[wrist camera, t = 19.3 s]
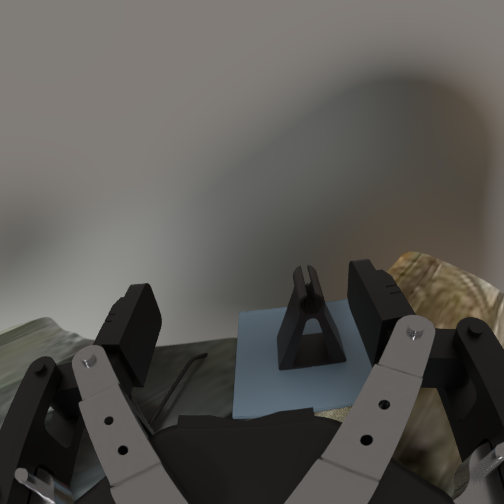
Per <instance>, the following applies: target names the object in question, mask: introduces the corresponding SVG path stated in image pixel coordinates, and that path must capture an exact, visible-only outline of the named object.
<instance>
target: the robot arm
mask: <svg viewBox="0 0 504 504" xmlns="http://www.w3.org/2000/svg"><path fill="white" fill-rule="evenodd" d="M347 297H348V304H349V308H350V311H351V313H352V316H353V318H354V321H355V323H356V326H357V329H358V331H359V334H360V336H361V339H362V342H363V344H364V347H365V350H366V352H367V355H368V358H369V361H370V363H371V366H372V370H371V372H370V374H369V376H368V378H367V380H366V382H365V384H364V386H363V388H362V390H361V391H360V393H359V395H358V397H357V399H356V401H355V402H354V404H353V406H352V408H351V409H350V411H349V413H348V415H347V416H346V418H345V420H344V421H343V423H342V422H339V421H337V420H333V419H330V418H325V417H319V416H314V410H313V407H310V408H303V409H295V410H286V411H278V412H275V413H272V414H269V415H266V416H262V417H259V418H255V419H252V420H248V421H237V420H232V419H226V418H221V417H216V416H211V415H201V416H187V415H179V417H178V424H177V425H173V426H170V427H167V428H165V429H162V430H160V431H158V432H157V433H154V431H153V430H152V428H151V427H150V425H149V423H148V422H147V420H146V418H145V417H144V415H143V413H142V411H141V410H140V408H139V406H138V404H137V402H136V401H135V399H134V397H133V395H132V394H131V391H132V388H133V387H144V383H145V380H146V376H147V373H148V369H149V366H150V362H151V359H152V355H153V352H154V349H155V345H156V342H157V339H158V336H159V332H160V329H161V325H162V318H161V314H160V310H159V308H158V305H157V302H156V299H155V297H154V294H153V291H152V288H151V286H150V285H149V284H148V283H145V284H134V285H130V287H129V289H128V291H127V292H126V294H125V296H124V297H121V298H120V299H119V300H118V301H117V302H116V303H115V304H114V305H113V306H112V308H111V310H110V312H109V315H108V316H107V318H106V319H105V323H104V324H103V325H102V327H101V329H100V331H99V333H98V335H97V337H96V339H95V341H94V344H93V345H91V346H87V347H85V348H83V349H81V350H80V351H79V352H77V354H76V355H75V356H74V358H73V360H72V362H70V363H66V364H62V365H58V366H57V364H56V363H55V361H54V360H53V359H52V358H51V357H47V356H45V357H41V358H38V359H37V360H35V361H34V362H33V363H32V364H31V365H30V366H29V368H28V370H27V372H26V374H25V376H24V378H23V380H22V382H21V384H20V386H19V388H18V390H17V393H16V395H15V397H14V399H13V401H12V404H11V406H10V408H9V411H8V413H7V415H6V418H5V420H4V422H3V425H2V427H1V430H0V504H504V349H503V348H502V346H501V344H500V343H499V341H498V340H497V338H496V336H495V335H494V333H493V332H492V330H491V329H490V327H489V326H488V325H487V324H486V323H485V322H484V321H482V320H480V319H478V318H473V317H468V318H464V319H462V320H461V321H460V322H459V323H458V325H457V327H456V329H437V328H435V327H434V325H433V324H432V323H431V322H430V321H429V320H428V319H426V318H424V317H422V316H418V315H416V314H415V312H414V311H413V309H412V308H411V306H410V304H409V303H408V301H407V299H406V298H405V296H404V295H403V293H401V290H400V288H399V287H398V286H397V284H396V282H395V281H394V279H393V278H392V276H391V275H389V274H388V273H386V272H385V271H383V270H375V268H374V266H373V265H372V263H371V262H370V260H369V259H363V260H356V261H350V263H349V274H348V292H347ZM420 387H421V388H437V390H438V393H439V395H440V398H441V400H442V403H443V406H444V409H445V411H446V414H447V417H448V420H449V423H450V426H451V428H452V431H453V434H454V437H455V441H456V444H457V447H458V450H459V453H460V457H461V460H462V463H461V464H460V466H459V467H458V468H457V470H456V473H455V476H454V484H455V489H454V494H453V496H452V498H451V497H450V496H449V495H448V494H447V493H445V492H444V491H442V490H441V489H439V488H438V487H436V486H434V485H433V484H431V483H430V482H428V481H427V480H425V479H424V478H422V477H420V476H419V475H417V474H416V473H414V472H413V471H411V470H410V469H408V468H407V467H406V466H404V465H403V464H401V463H400V462H398V461H397V460H395V459H394V458H392V455H393V453H394V451H395V449H396V446H397V444H398V442H399V440H400V437H401V435H402V433H403V431H404V428H405V426H406V423H407V421H408V418H409V416H410V413H411V411H412V408H413V406H414V403H415V400H416V398H417V395H418V392H419V389H420ZM49 406H51V407H52V408H53V409H54V410H55V411H54V413H53V416H52V419H51V422H50V425H49V428H48V431H46V429H45V425H44V421H45V417H46V414H47V412H48V409H49ZM85 425H86V428H87V430H88V433H89V436H90V438H91V441H92V443H93V446H94V448H95V451H96V453H97V456H98V458H99V460H100V463H101V465H102V467H103V469H104V471H105V474H106V476H105V477H104V478H103V479H102V480H100V481H99V482H98V483H97V484H96V485H95V486H93V487H92V488H91V489H90V490H89V491H87V492H86V493H85V494H84V495H82V496H81V497H80V498H79V499H78V500H76V501H74V500H73V496H72V493H71V490H70V489H69V487H70V482H71V477H72V473H73V468H74V464H75V460H76V456H77V452H78V448H79V444H80V440H81V436H82V433H83V429H84V426H85Z"/></svg>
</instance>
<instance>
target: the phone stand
mask: <svg viewBox="0 0 504 504" xmlns="http://www.w3.org/2000/svg"><path fill="white" fill-rule="evenodd" d="M307 268H308V272H309V276H310V280H311V282H310V284H308V283H307V284H306V285H305V282H304V278H303V274H302V269H301V266H299V267H297V268H296V269H295V271H294V273H293V281H294V290H293V293H292V295H291V298H290V301H289V304H288V307H287V310H286V313H285V316H284V318H283V321H282V324H281V327H280V330H279V332H278V335H277V351H278V367H279V370H281V371H282V370H291V369H300V368H308V367H312V366H314V367H315V366H323V365H330V364H336V363H343V362H346V360H347V359H346V356H345V352H344V349H343V345H342V341H341V338H340V334H339V331H338V328H337V326H336V324H335V322H334V320H333V318H332V316H331V314H330V311H329V309H328V307H327V305H326V303H325V300H324V297H323V293H322V290H321V287H320V283H319V280H318V276H317V273H316V270H315V269H314V268H313V267H312V266H309V265H308V267H307ZM312 318H314V319H317V320H318V322H319V324H320V327H321V330H322V332H321V333H313V334H306V335H302V334H303V331H304V328H305V324H306V322H307V321H308V320H309V319H312Z"/></svg>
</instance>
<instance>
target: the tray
mask: <svg viewBox="0 0 504 504" xmlns="http://www.w3.org/2000/svg"><path fill="white" fill-rule="evenodd" d="M325 303H326V305H327V307H328V309H329V311H330V314H331V316H332V318H333V320H334V322H335V324H336V326H337V328H338V331H339V334H340V338H341V341H342V345H343V349H344V352H345V356H346V359H347V360H346V362H343V363H336V364H330V365H323V366H315V367H314V366H312V367H308V368H300V369H291V370H282V371H281V370H279V367H278V351H277V335H278V332H279V330H280V327H281V324H282V321H283V318H284V316H285V313H286V310H287V307H283V308H275V309H265V310H255V311H246V312H239V325H238V339H237V354H236V370H235V385H234V401H233V419H245V418H259V417H262V416H266V415H269V414H272V413H275V412H278V411H286V410H295V409H303V408H310V407H313V410H314V412H318V411H325V410H332V409H338V408H344V407H349V406H353V404H354V402H355V401H356V399H357V397H358V395H359V393H360V391H361V390H362V388H363V386H364V384H365V382H366V380H367V378H368V376H369V374H370V372H371V370H372V366H371V363H370V361H369V358H368V355H367V352H366V350H365V347H364V344H363V342H362V339H361V336H360V334H359V331H358V329H357V326H356V323H355V321H354V318H353V316H352V313H351V311H350V308H349V304H348V299H343V300H337V301H330V302H325ZM321 332H322V330H321V327H320V324H319V322H318V320H317V319H314V318H312V319H309V320H308V321H307V322H306V324H305V328H304V331H303V334H302V335H306V334H313V333H321Z"/></svg>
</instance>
